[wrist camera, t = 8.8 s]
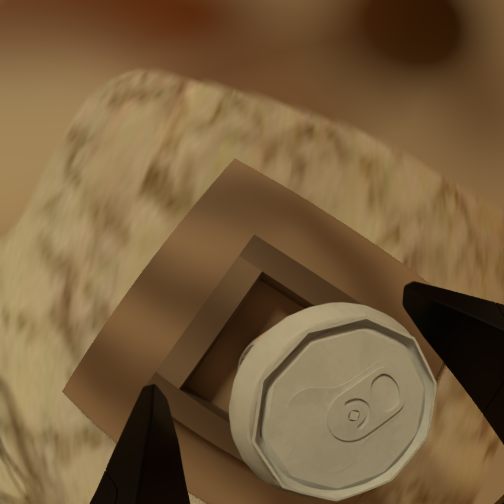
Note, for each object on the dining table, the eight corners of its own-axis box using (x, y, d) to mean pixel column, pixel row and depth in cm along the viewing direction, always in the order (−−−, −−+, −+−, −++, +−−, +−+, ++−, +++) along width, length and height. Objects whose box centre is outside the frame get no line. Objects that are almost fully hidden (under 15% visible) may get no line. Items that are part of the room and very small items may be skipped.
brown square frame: (310, 538, 13) (320, 561, 10) (71, 390, 16) (45, 394, 13) (454, 312, 19) (480, 305, 16) (234, 167, 22) (234, 140, 19)
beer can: (222, 355, 16) (179, 370, 5) (295, 316, 17) (390, 252, 6) (262, 425, 15) (299, 547, 4) (333, 384, 16) (473, 424, 5)
